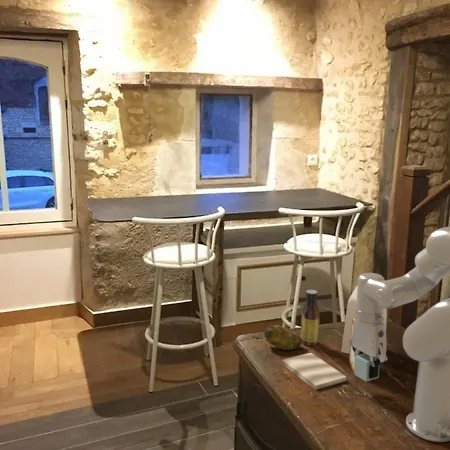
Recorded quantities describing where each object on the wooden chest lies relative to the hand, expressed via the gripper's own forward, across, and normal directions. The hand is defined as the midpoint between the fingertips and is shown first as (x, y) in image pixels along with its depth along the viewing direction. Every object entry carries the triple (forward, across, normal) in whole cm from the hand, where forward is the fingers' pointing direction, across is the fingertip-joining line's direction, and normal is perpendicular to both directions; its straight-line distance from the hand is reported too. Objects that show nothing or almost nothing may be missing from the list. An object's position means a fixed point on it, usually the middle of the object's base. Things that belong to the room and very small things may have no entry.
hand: (366, 372), depth 154 cm
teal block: (+1, 0, 0) cm, 1 cm away
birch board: (+5, +16, +7) cm, 19 cm away
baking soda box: (+6, +11, -9) cm, 16 cm away
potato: (+5, +35, +6) cm, 36 cm away
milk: (+5, +21, -19) cm, 29 cm away
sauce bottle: (+5, +34, -5) cm, 35 cm away
